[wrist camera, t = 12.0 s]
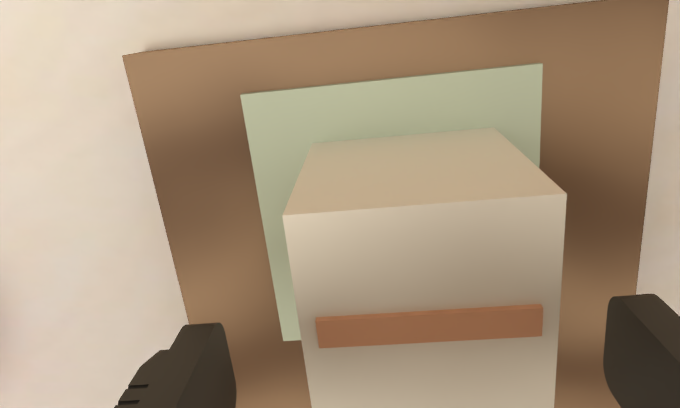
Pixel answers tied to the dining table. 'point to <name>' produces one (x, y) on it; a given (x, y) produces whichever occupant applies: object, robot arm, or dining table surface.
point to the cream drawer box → (427, 272)
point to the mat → (375, 133)
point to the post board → (390, 62)
